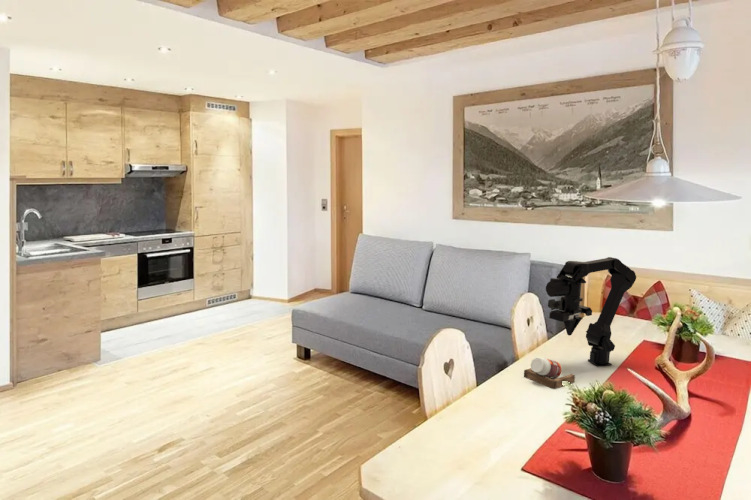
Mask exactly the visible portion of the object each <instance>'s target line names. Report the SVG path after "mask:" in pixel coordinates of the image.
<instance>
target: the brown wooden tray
mask: <svg viewBox="0 0 751 500" xmlns="http://www.w3.org/2000/svg"><path fill="white" fill-rule="evenodd" d="M523 377H524V378H526V379H529V380H530V381H531V380H532V381H534V382H536V383H539V384H541V385H543V386H545V387H548V388H551V389H553V390H554V389H558V388H560V387H561V388H562V387H564V386H563V385H562V381H568V382H570V384H573V383H575V379H576V376H575V375H574V374H573V373H569V374H566V375H563V376H561V377H560V376H559V377H557V378H550V377H547V376H542V375H539V374H538V373H536V372H534V371H533V370H532V369H531V367H530V368H528V369H523Z"/></svg>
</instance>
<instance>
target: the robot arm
mask: <svg viewBox="0 0 751 500" xmlns="http://www.w3.org/2000/svg"><path fill="white" fill-rule="evenodd" d="M602 271H607V272H608V273H609V275H610V279H609V280H610V287H611V288H610V291H609V293H608V295H607V296H606V300H605V302H604V304H603V306H602V309H601V312H600V314H599V317H598V318H597V321H595V322H594V323H592V322H590V323H589V325H588V327H587V330H586V331H585V333H586V334H585V338H586V340H587V346H590V349H591V351H589V359H587V362H589V363H591V364H593V365H595V366H597V367H604V366H605V367H606V366H612V363H611V362H610V356H611V355H610V354H611V352H614V350H615V347H616V345H615V343H614V342H613V341H612V340H611V337H612V329H611V325H612V323H613V321H614V319H615V316H616V314H617V311H618V309H619V306H620V304H621V302H622V299H623V297H624V294H625V293H626V292H627V291H628V290H630V289H631V288H632V287H633V286H634V283H635V281H636V280H637V275H636V272H635V271H634V270H632V268H630V267H629V266H628V265H626V264H624V263H623V262H622V261H621V260H620V259H619V258H616V257H611V256H608V257H605V258H599V259H593V260H590V261H589V260H588V261H577V260H568V261H565V263H564V265H563V267H562V268H561V269H560V271H559V273H558V274H557V276H556V277H555V278H554V277H550V280H549V281H548V282H547V284H546V286H545V292H546V294H547V295H548V296H549V297H551V298H553V299H548V301H547V308H549V309H550V310H551V311H550V312H549V313H548V314H549V315H548V319H551V320H555V321H557V322H563V325H564V327H565V330H566V335H568V336H572V334H573V333H574V331H575V330H576V328H577V326H578V325H579V324H580V322H581V321H582V320H583V317H581V315H580V314H585V316H586V317H589V316H592V315H593V310H592V308H591V307H589V306H584V305H581V304H580V303H581V302H583V299H584V298H582V297H581V292H582V284H586V283H587V281H586V280H585V277H587V276H588V275H589V274H591V273H597V272H602ZM554 297H560V300H556V299H555V298H554Z"/></svg>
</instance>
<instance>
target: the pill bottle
mask: <svg viewBox="0 0 751 500" xmlns="http://www.w3.org/2000/svg"><path fill="white" fill-rule="evenodd" d="M530 368H531V369H532V370H533V371H534V372H536V373H538V374H539V375H542V376H545V377H548V378H550V379H557V378H560V376H561V374H562V372H563V367H562V365H561V363H560V362H558V361H556V360H552V359H549V358H546V357H541V358H540V357H535V358H533V359H532V360H531V363H530Z"/></svg>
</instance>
